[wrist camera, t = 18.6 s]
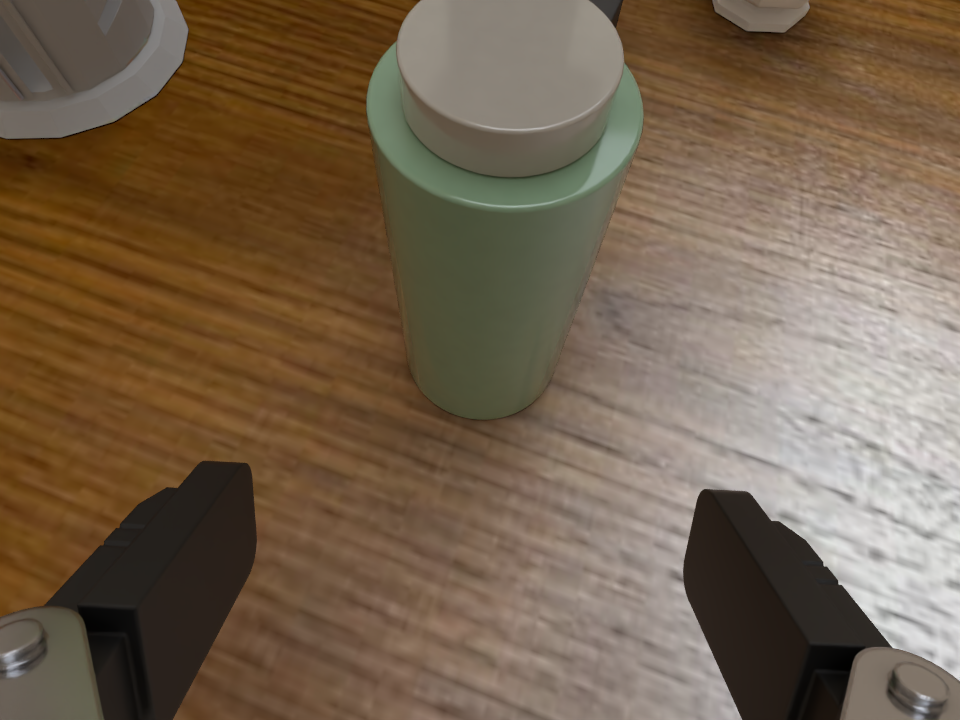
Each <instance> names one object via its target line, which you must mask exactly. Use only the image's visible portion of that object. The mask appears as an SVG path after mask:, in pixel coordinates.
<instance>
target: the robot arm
mask: <svg viewBox="0 0 960 720" xmlns="http://www.w3.org/2000/svg"><path fill="white" fill-rule="evenodd" d="M256 544H257V535H256V522H255V509H254V496H253V483H252V473H251V469H250V466H249V465H248V464H247V463H236V462H218V461H202V462H200V463H199V464H198V465H197V466H196V467H195V469H194V470H193V471H192V472H191V473H190V474H189V476H188V477H187V478H186V479H185V480H184V481H183V483H182V484H181V485H180V486H179V487H178V488H168V487H167V488H165V489H164V490H162V491H160V492H158V493H157V494H155V495H153V496H152V497H150V498H148V499H146V500H145V501H143V502H141V503H140V504H138V505H137V506H136V508H135V509H134V510H133V511H132V512H131V513H130V514H129V515H128V516H127V517H126V518H125V519H124V520H123V521H122V523H121V524H120V528H116V529H115V530H114V531H113V532H112V533H111V534H110V535H109V536H108V538H107V539H106V540H105V541H104V545H103V546H101V545H100V546H99V547H98V548H97V549H96V550H95V552H94V553H93V554H92V555H91V556H90V557H89V558H88V559H87V560H86V561H85V562H84V563H83V564H82V565H81V567H80V568H79V569H78V570H77V571H76V572H75V573H74V574H73V575H72V576H71V577H70V578H69V579H68V580H67V582H66V583H65V584H64V585H63V586H62V587H61V588H60V589H59V590H58V591H57V592H56V593H55V594H54V596H53V597H52V598H51V599H50V600H49V601H48V602H47V603H46V604H45V605H44V606H40V607H33V608H28V609H24V610H20V611H17V612H13V613H11V614H8V615H5V616H2V617H0V720H173V718H174V716H175V714H176V712H177V710H178V708H179V707H180V705H181V703H182V701H183V699H184V697H185V695H186V693H187V691H188V690H189V688H190V686H191V684H192V682H193V680H194V678H195V676H196V674H197V673H198V671H199V669H200V667H201V665H202V663H203V661H204V659H205V657H206V656H207V654H208V652H209V650H210V648H211V646H212V644H213V642H214V640H215V639H216V637H217V635H218V633H219V631H220V629H221V627H222V625H223V623H224V621H225V620H226V618H227V616H228V614H229V612H230V610H231V608H232V606H233V604H234V603H235V601H236V599H237V597H238V595H239V593H240V591H241V589H242V587H243V586H244V584H245V582H246V580H247V578H248V576H249V574H250V572H251V569H252V566H253V563H254V559H255V553H256ZM683 577H684V586H685V591H686V594H687V597H688V600H689V602H690V604H691V607H692V609H693V611H694V613H695V615H696V618H697V620H698V622H699V624H700V627H701V629H702V631H703V633H704V635H705V638H706V640H707V642H708V644H709V647H710V649H711V651H712V653H713V655H714V658H715V660H716V662H717V664H718V667H719V669H720V671H721V673H722V676H723V678H724V680H725V682H726V684H727V687H728V689H729V691H730V693H731V696H732V698H733V700H734V702H735V704H736V707H737V709H738V711H739V713H740V716H741V718H742V720H960V681H959V680H957V679H956V678H955V677H954V676H952V675H951V674H949V673H948V672H947V671H945V670H944V669H942V668H940V667H939V666H937V665H935V664H934V663H932V662H930V661H928V660H926V659H924V658H922V657H920V656H917V655H914V654H912V653H909V652H906V651H903V650H899V649H894V648H892V647H891V646H890V644H889V643H888V642H887V641H886V639H885V638H884V637H883V636H882V634H881V633H880V632H879V631H878V629H877V628H876V627H875V626H874V624H873V623H872V622H871V621H870V620H869V618H868V617H867V616H866V615H865V613H864V612H863V611H862V610H861V608H860V607H859V606H858V605H857V603H856V602H855V601H854V600H853V598H852V597H851V596H850V595H849V593H848V592H847V591H846V590H845V589H844V587H843V586H842V585H838V580H837V579H836V577H835V576H834V575H833V574H832V572H831V571H830V570H829V569H828V567H824V566H823V561H822V560H821V559H820V558H819V556H818V555H817V554H816V553H815V551H814V550H813V549H812V548H811V546H810V545H809V544H808V543H807V541H806V540H804V539H803V538H802V537H800V536H799V535H797V534H796V533H795V532H793V531H792V530H790V529H789V528H788V527H786V526H785V525H783V524H782V523H781V522H779V521H771V520H770V519H769V517H768V516H767V515H766V513H765V512H764V511H763V509H762V508H761V507H760V505H759V504H758V503H757V502H756V500H755V499H754V498H753V496H752V495H751V494H750V493H748V492H746V491H730V490H712V489H704V490H702V491H701V492H700V494H699V496H698V499H697V503H696V508H695V512H694V517H693V522H692V526H691V531H690V536H689V540H688V545H687V550H686V554H685V559H684V567H683Z"/></svg>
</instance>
